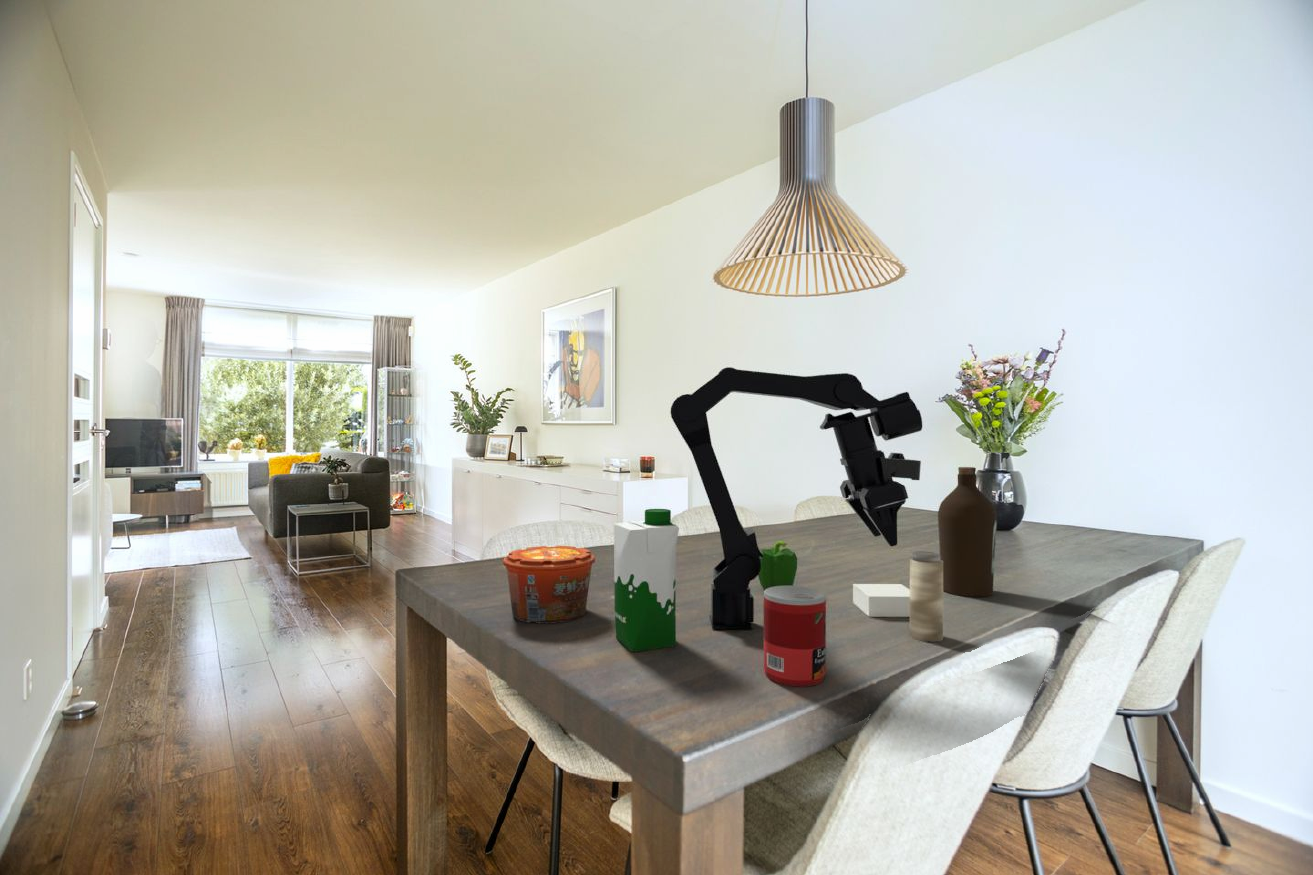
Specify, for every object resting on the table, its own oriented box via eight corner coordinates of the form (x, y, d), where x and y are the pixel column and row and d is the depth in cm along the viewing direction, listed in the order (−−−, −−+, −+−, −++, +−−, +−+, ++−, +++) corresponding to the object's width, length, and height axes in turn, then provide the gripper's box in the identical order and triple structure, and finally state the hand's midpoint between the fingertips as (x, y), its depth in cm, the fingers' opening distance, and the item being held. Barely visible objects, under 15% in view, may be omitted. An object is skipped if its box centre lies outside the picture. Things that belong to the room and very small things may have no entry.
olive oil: (945, 596, 121) (945, 468, 121) (931, 583, 131) (932, 465, 131) (1004, 599, 119) (1005, 469, 119) (986, 586, 129) (986, 466, 129)
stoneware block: (868, 616, 108) (868, 596, 108) (852, 602, 117) (852, 583, 117) (920, 616, 108) (920, 596, 108) (900, 602, 117) (900, 584, 117)
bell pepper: (751, 584, 131) (751, 536, 131) (789, 583, 132) (789, 536, 132) (762, 594, 123) (762, 543, 123) (802, 593, 124) (802, 543, 124)
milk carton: (684, 646, 93) (684, 512, 92) (627, 655, 89) (627, 516, 89) (660, 629, 101) (660, 506, 101) (607, 637, 97) (607, 509, 97)
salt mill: (917, 641, 95) (917, 556, 95) (904, 631, 100) (904, 550, 100) (948, 641, 95) (948, 556, 95) (934, 631, 100) (935, 550, 100)
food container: (612, 615, 109) (612, 554, 109) (527, 633, 99) (527, 566, 99) (567, 596, 121) (567, 541, 121) (488, 610, 112) (488, 551, 112)
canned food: (827, 690, 77) (827, 601, 77) (762, 684, 79) (762, 598, 79) (823, 667, 85) (823, 586, 85) (764, 662, 86) (764, 583, 86)
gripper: (926, 435, 92) (957, 536, 91) (890, 434, 110) (915, 519, 110) (852, 456, 93) (882, 556, 92) (828, 452, 111) (853, 536, 111)
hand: (885, 540), depth 101 cm, fingers open, 9 cm apart
